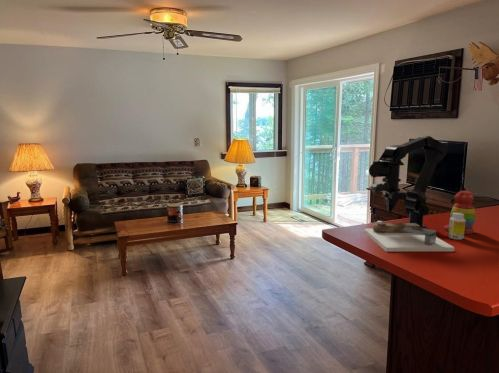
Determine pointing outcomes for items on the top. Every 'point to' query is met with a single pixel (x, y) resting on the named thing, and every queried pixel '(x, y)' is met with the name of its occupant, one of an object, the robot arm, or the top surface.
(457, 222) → the supplement bottle
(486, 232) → the top surface
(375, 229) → the brown wooden bar
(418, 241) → the board
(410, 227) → the keeper
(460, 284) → the top surface
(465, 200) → the stacking bear
